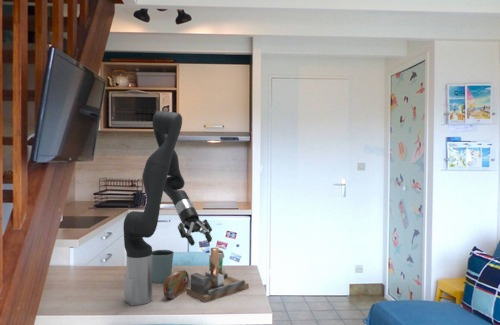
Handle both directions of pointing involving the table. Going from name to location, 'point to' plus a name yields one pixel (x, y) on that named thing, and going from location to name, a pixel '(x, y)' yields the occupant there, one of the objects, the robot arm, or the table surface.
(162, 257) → the teal cup
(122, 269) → the table surface
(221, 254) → the food container
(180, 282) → the tin
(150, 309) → the table surface
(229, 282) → the railed wooden base
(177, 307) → the table surface
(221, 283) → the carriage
